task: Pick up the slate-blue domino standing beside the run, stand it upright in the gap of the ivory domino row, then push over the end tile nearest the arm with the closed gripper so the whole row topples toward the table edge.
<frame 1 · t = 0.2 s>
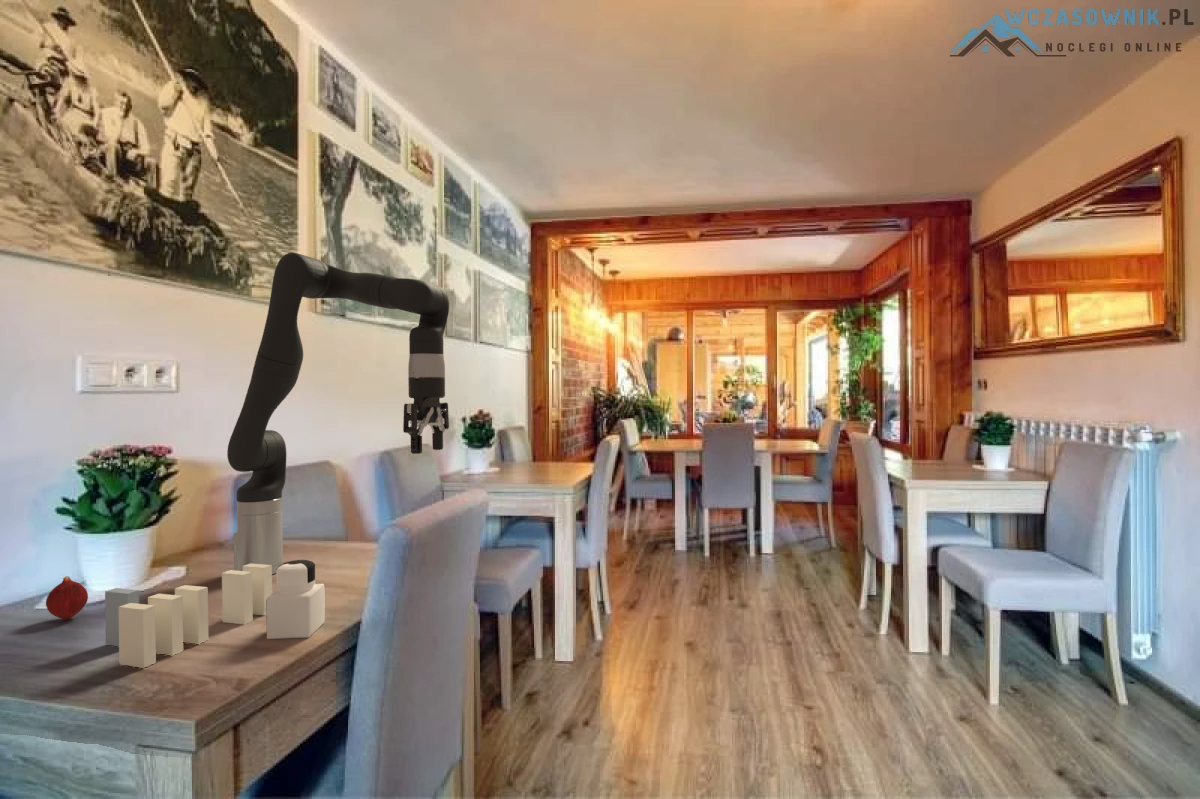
hand: (427, 451, 127), 29 cm above the table, tool pointing down, fingers open, 8 cm apart
domino 1: (257, 612, 113), on the table
domino 4: (192, 641, 100), on the table
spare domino: (122, 644, 99), on the table
domino 5: (166, 652, 96), on the table
domino 2: (237, 621, 109), on the table
onion: (67, 620, 110), on the table
domino 6: (137, 664, 91), on the table
medicine bottle: (296, 632, 104), on the table
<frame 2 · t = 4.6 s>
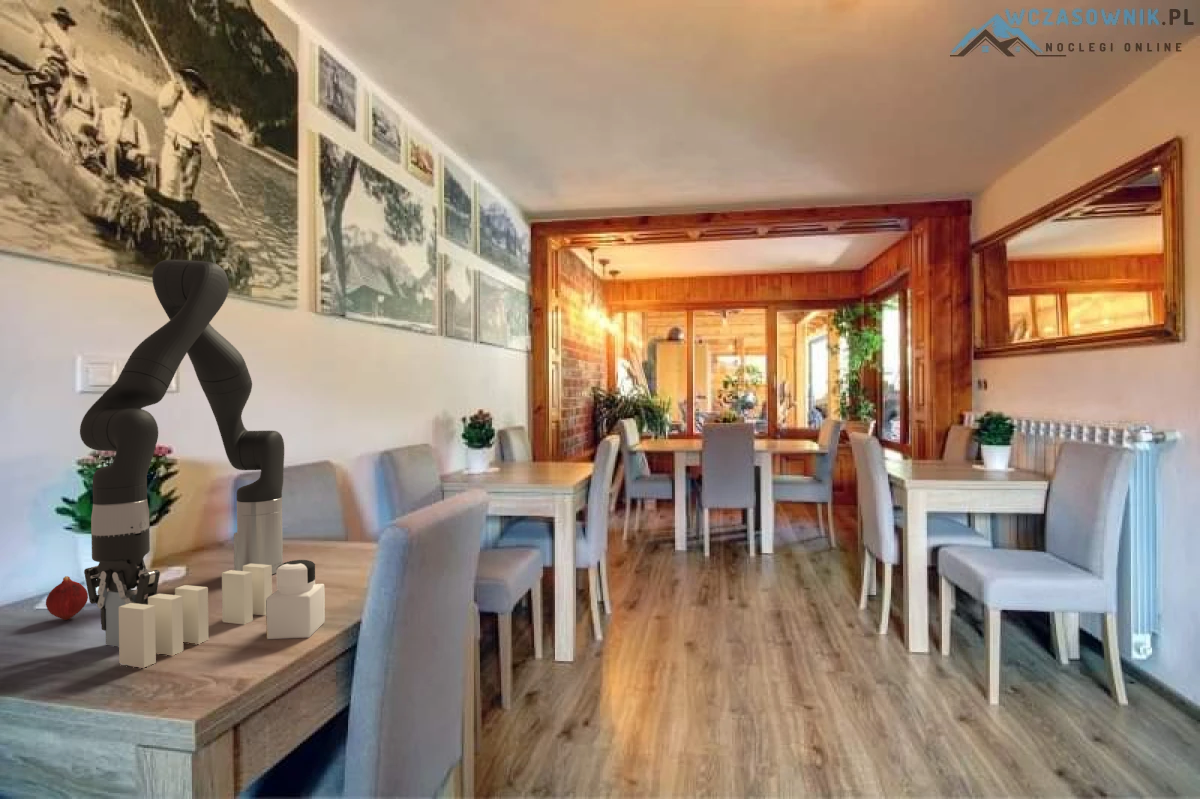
hand: (122, 630, 99), 2 cm above the table, tool pointing down, fingers closed on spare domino, 5 cm apart
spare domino: (122, 644, 99), on the table, touching gripper
everything else where it was.
when the fingers open (3 cm above the table, at t = 10.2 s): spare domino stays where it is, on the table.
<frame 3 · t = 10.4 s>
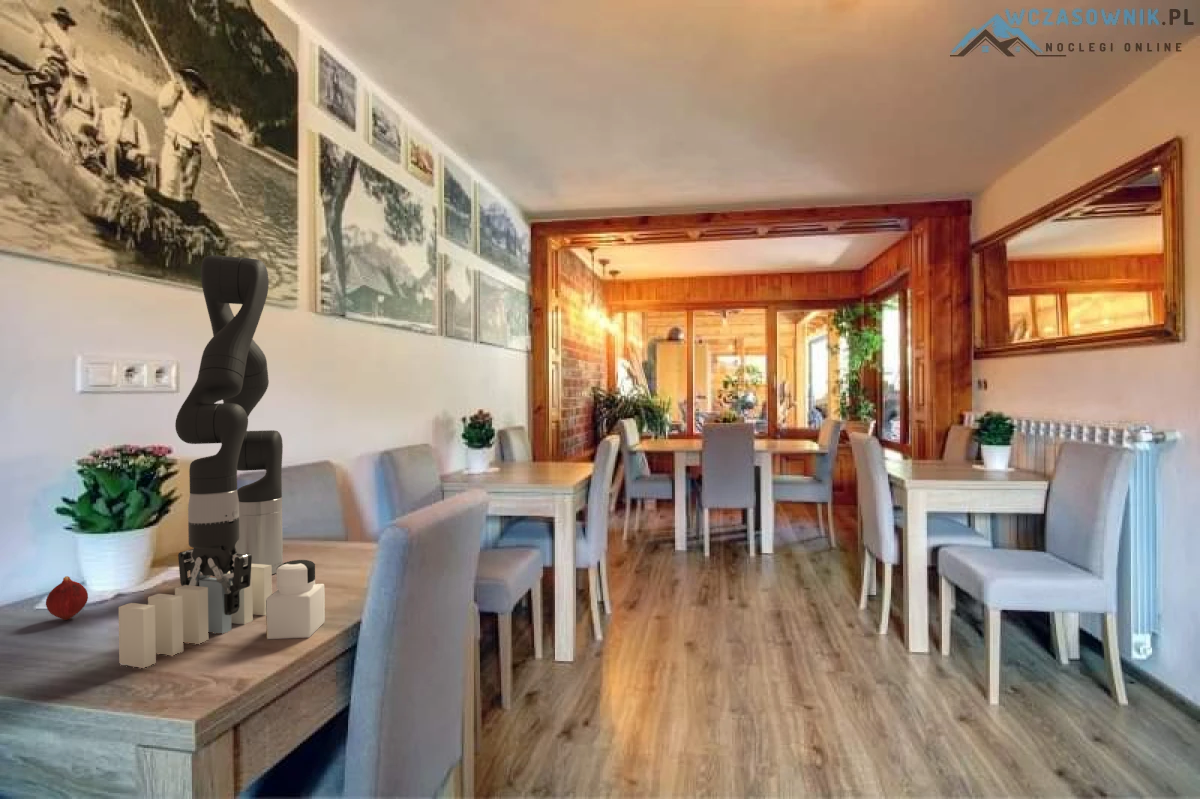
hand: (215, 611, 104), 3 cm above the table, tool pointing down, fingers open, 6 cm apart
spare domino: (215, 630, 104), on the table
everything else where it was.
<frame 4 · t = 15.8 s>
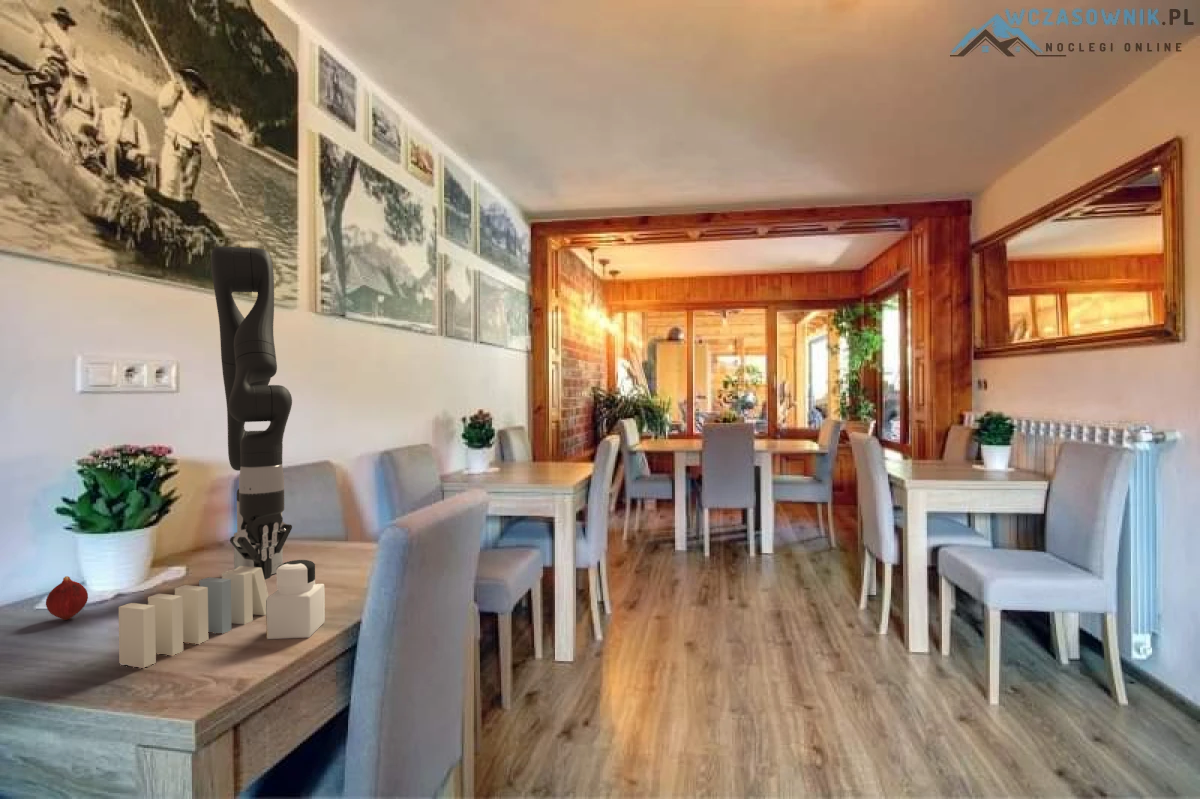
hand: (263, 578, 114), 6 cm above the table, tool pointing down, fingers closed
domino 1: (257, 611, 113), on the table, tilted 15°
everything else where it was.
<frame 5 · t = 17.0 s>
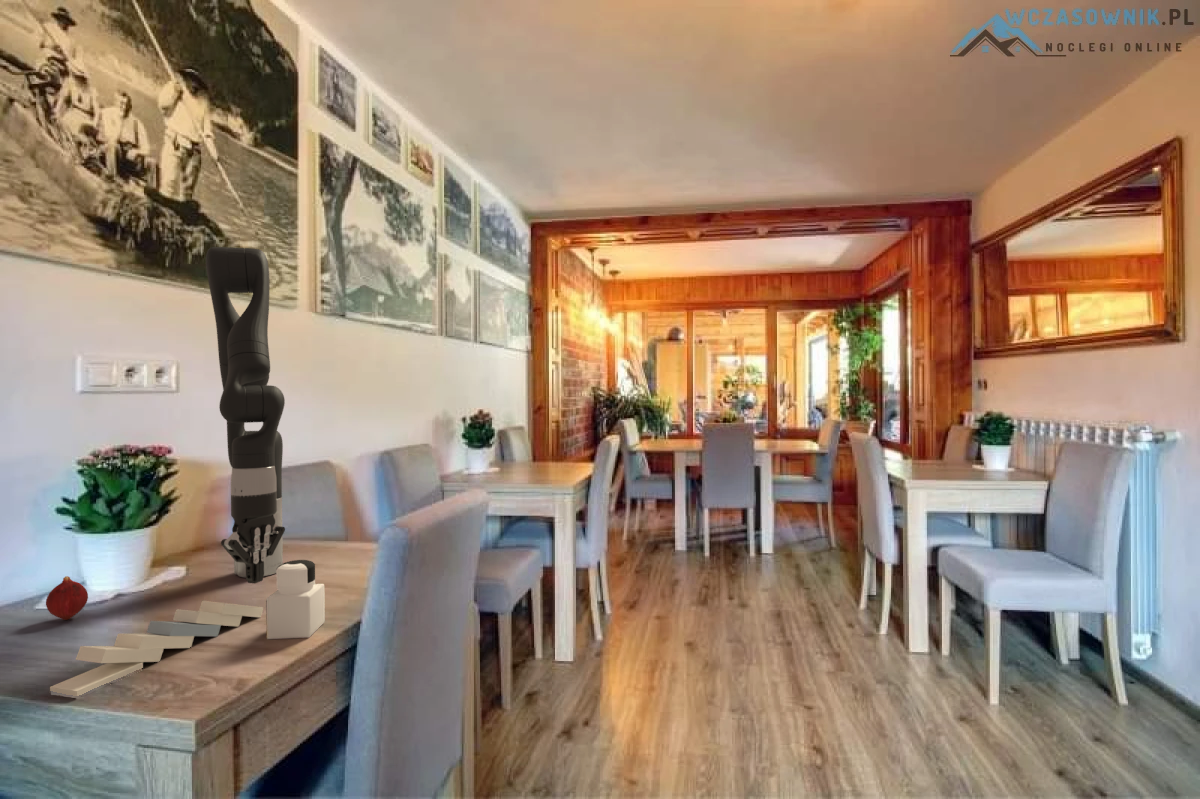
hand: (255, 581, 113), 6 cm above the table, tool pointing down, fingers closed
domino 1: (251, 611, 112), point 1 cm above the table, tilted 66°
domino 4: (180, 640, 98), point 1 cm above the table, tilted 69°, touching domino 5
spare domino: (208, 629, 103), point 1 cm above the table, tilted 68°, touching domino 2
domino 5: (149, 653, 93), point 1 cm above the table, tilted 68°, touching domino 4
domino 2: (229, 619, 107), point 1 cm above the table, tilted 66°, touching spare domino
domino 6: (130, 666, 90), on the table, tilted 90°
everything else where it was.
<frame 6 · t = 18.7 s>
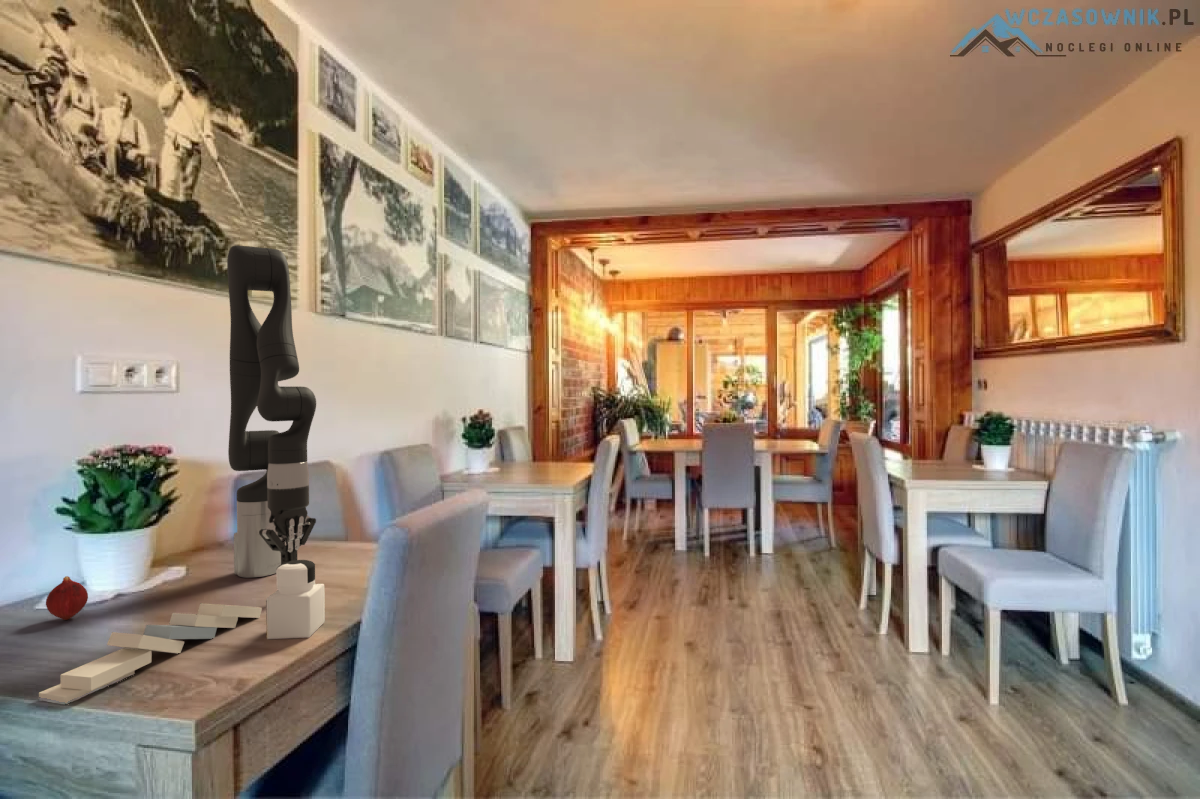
hand: (289, 569, 121), 6 cm above the table, tool pointing down, fingers closed
domino 1: (249, 611, 111), point 1 cm above the table, tilted 68°, touching domino 2
domino 4: (167, 646, 96), point 1 cm above the table, tilted 62°, touching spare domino
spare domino: (203, 631, 102), point 1 cm above the table, tilted 69°, touching domino 2, domino 4
domino 5: (137, 655, 90), point 2 cm above the table, tilted 89°, touching domino 6
domino 2: (224, 621, 106), point 1 cm above the table, tilted 67°, touching domino 1, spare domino
domino 6: (121, 671, 89), on the table, tilted 90°, touching domino 5
everything else where it was.
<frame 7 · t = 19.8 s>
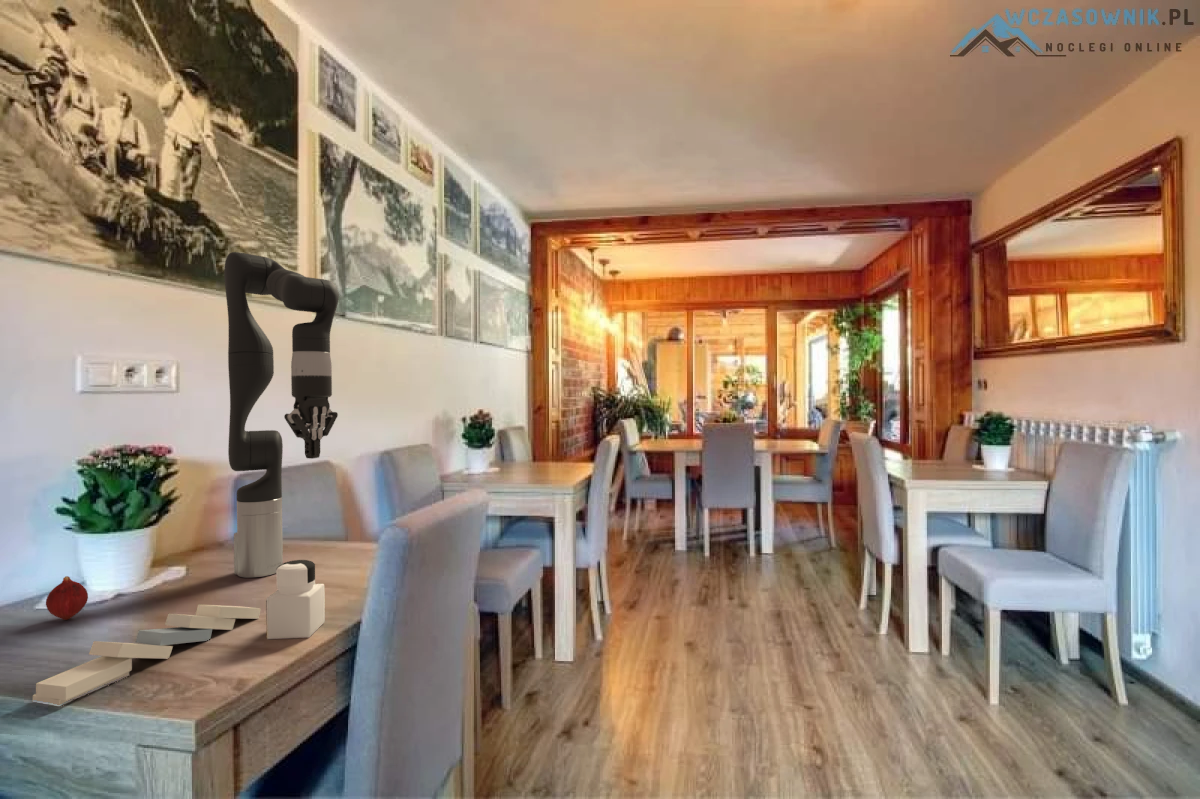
hand: (312, 457, 123), 28 cm above the table, tool pointing down, fingers closed
domino 4: (157, 651, 94), point 1 cm above the table, tilted 65°
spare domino: (199, 633, 101), point 1 cm above the table, tilted 73°, touching domino 2
domino 5: (117, 662, 88), point 2 cm above the table, tilted 90°, touching domino 6
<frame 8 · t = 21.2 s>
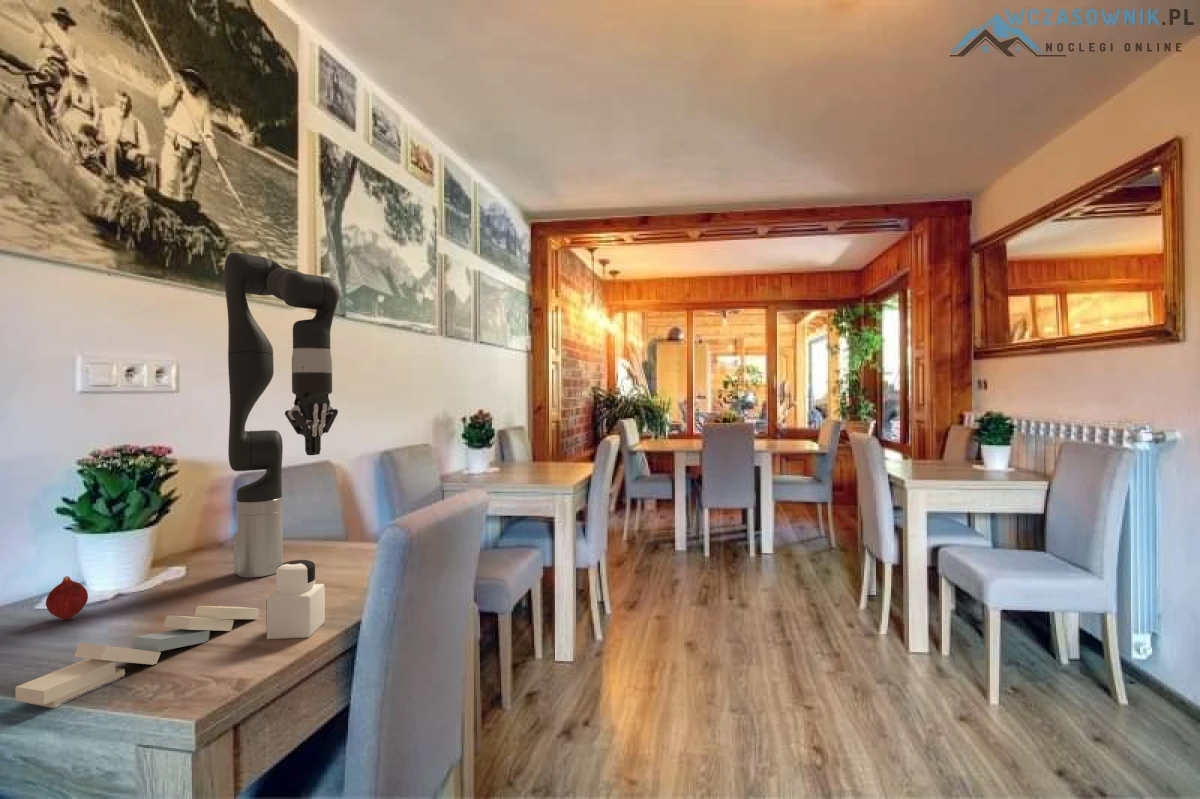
hand: (313, 454, 123), 29 cm above the table, tool pointing down, fingers closed
domino 4: (145, 656, 92), point 1 cm above the table, tilted 62°
domino 5: (101, 665, 86), point 2 cm above the table, tilted 90°, touching domino 6
at the end: domino 6 tilted 90°; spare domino tilted 77°; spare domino inside the target area (3.8 cm from its centre), point 0.8 cm above the table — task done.
